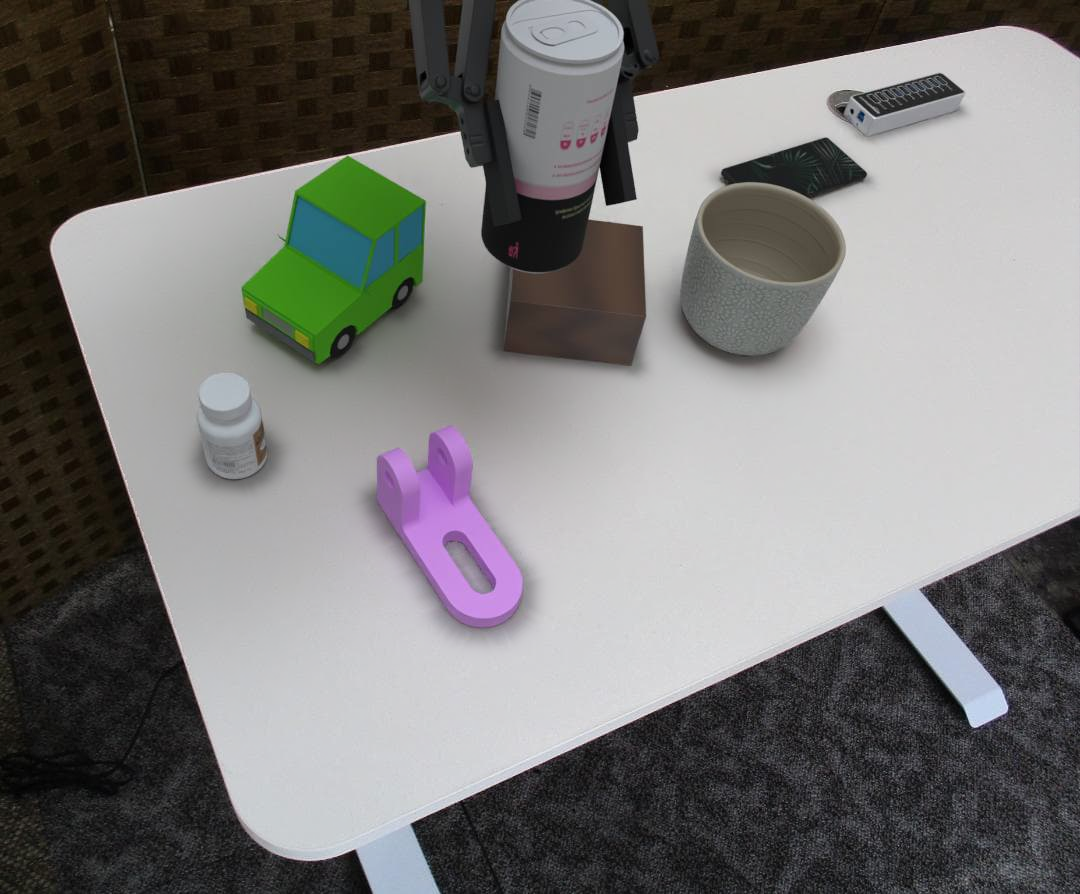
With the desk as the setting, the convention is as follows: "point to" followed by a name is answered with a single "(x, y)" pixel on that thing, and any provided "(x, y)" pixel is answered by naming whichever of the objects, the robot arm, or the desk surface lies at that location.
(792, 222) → the planter
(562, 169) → the beverage can
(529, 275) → the riser
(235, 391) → the pill bottle
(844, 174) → the smartphone
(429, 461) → the bracket
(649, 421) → the desk surface
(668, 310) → the desk surface
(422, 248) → the toy car
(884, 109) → the multiport hub
